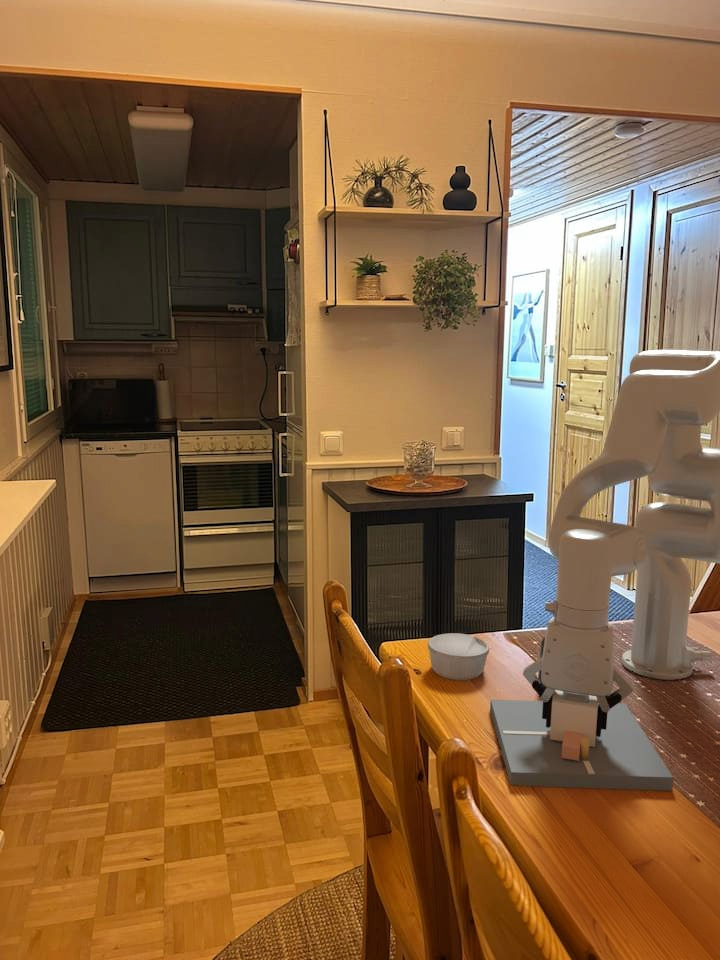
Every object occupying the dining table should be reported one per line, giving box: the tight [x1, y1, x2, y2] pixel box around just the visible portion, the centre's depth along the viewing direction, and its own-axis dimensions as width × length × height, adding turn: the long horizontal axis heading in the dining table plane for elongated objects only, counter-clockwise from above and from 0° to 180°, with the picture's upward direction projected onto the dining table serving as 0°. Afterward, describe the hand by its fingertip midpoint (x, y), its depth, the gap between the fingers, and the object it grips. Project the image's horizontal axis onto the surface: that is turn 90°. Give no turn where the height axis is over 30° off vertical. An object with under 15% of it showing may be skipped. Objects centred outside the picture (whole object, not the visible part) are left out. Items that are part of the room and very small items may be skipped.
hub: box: [550, 690, 599, 761], centre depth 114 cm, size 11×6×6 cm, turn 162°
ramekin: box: [427, 632, 490, 681], centre depth 143 cm, size 11×11×5 cm
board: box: [489, 692, 674, 792], centre depth 116 cm, size 22×22×9 cm
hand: (573, 727), depth 116 cm, fingers closed on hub, 6 cm apart
